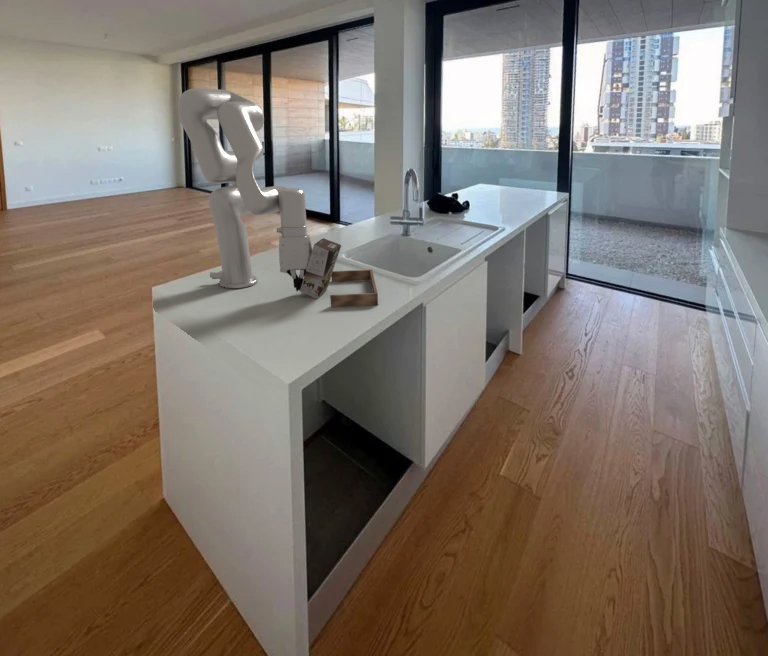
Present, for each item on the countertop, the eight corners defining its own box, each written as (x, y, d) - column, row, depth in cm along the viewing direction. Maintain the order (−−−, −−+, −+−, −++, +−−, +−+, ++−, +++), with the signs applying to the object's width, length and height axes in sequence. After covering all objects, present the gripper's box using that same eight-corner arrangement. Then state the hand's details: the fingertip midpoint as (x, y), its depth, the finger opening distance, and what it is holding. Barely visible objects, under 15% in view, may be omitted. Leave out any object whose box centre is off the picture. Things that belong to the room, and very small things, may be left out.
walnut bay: (330, 307, 146) (330, 295, 144) (331, 281, 169) (331, 271, 168) (377, 304, 147) (377, 293, 145) (372, 279, 170) (371, 269, 169)
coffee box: (318, 299, 152) (333, 252, 145) (299, 291, 153) (313, 243, 146) (327, 290, 161) (342, 244, 154) (309, 282, 161) (323, 236, 154)
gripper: (267, 234, 145) (273, 294, 152) (318, 233, 146) (322, 292, 153) (270, 229, 152) (276, 286, 159) (320, 228, 153) (323, 285, 160)
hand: (299, 289), depth 156 cm, fingers closed
